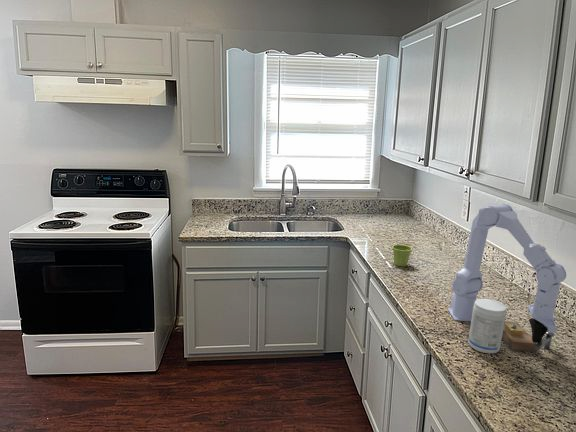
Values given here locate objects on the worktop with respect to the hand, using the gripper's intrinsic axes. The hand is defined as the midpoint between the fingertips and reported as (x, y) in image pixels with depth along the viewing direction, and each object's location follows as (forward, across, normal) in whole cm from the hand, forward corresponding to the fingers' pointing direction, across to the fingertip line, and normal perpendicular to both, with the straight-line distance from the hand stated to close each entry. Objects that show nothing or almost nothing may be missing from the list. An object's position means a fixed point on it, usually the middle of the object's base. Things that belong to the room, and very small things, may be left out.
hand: (536, 342), depth 142 cm
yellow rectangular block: (+1, +7, +4) cm, 8 cm away
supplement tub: (+4, +1, +16) cm, 16 cm away
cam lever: (+3, 0, -2) cm, 4 cm away
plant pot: (+5, +78, +28) cm, 83 cm away
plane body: (+4, +7, +3) cm, 9 cm away
